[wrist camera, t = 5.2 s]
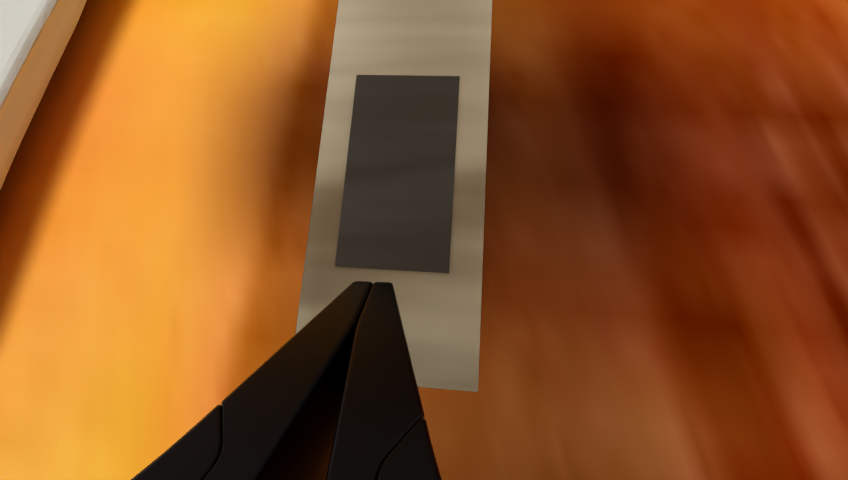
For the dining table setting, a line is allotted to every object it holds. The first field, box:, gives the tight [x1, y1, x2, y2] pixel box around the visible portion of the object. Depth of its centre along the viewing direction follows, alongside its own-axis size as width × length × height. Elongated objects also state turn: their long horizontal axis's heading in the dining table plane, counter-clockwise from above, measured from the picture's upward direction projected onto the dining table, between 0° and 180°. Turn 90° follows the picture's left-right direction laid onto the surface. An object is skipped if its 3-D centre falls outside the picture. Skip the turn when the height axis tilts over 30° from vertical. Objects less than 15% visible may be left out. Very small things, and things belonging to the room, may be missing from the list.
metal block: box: [296, 0, 492, 392], centre depth 13 cm, size 5×5×12 cm
